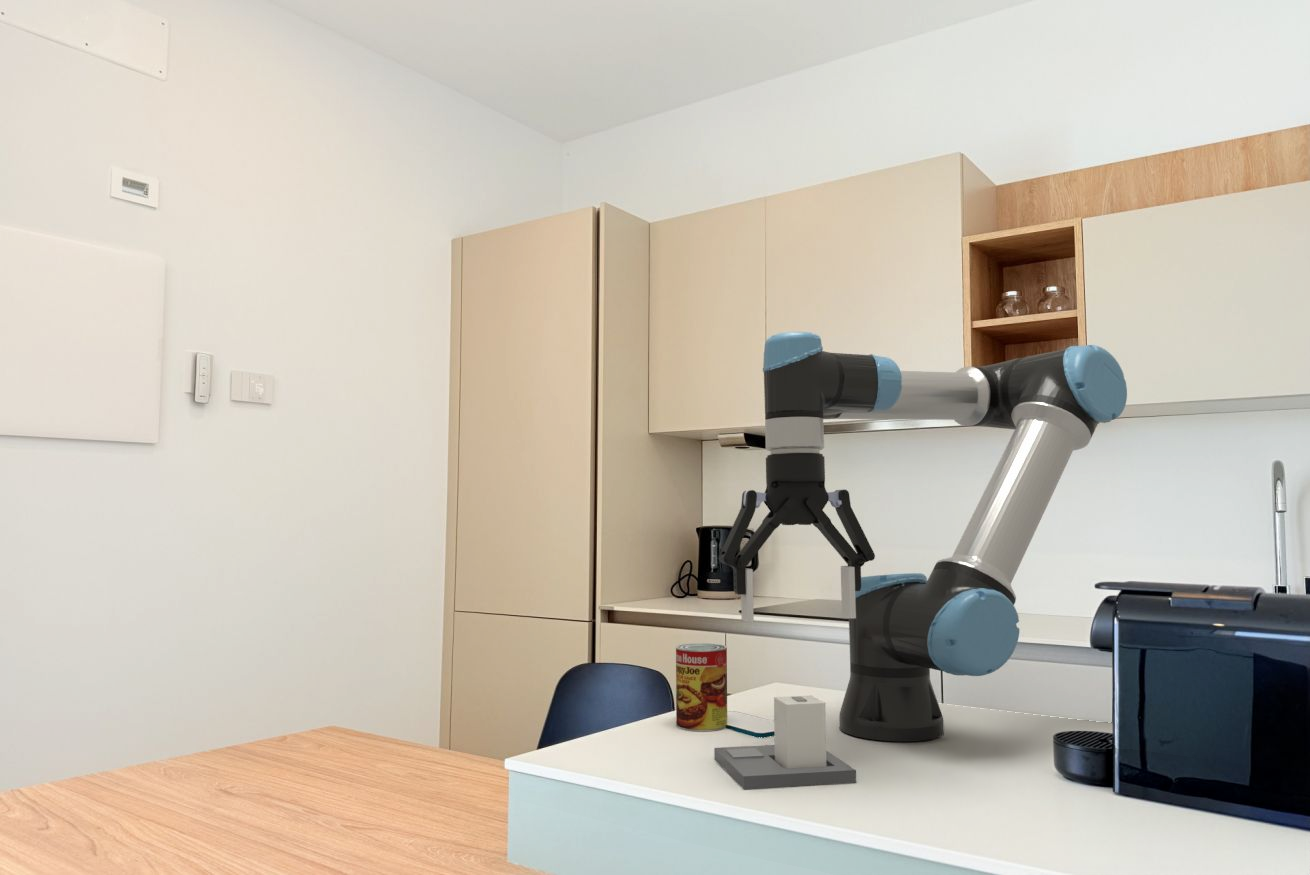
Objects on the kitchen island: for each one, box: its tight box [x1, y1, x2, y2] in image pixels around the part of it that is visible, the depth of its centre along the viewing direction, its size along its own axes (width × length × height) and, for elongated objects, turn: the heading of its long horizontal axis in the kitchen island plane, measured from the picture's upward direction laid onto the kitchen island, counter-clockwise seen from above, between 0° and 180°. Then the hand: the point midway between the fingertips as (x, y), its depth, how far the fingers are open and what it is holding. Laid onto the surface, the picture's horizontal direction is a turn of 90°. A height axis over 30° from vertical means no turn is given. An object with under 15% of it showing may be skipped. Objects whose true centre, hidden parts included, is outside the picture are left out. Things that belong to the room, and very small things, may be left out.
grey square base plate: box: [713, 744, 857, 790], centre depth 118 cm, size 14×14×2 cm
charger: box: [773, 695, 827, 769], centre depth 118 cm, size 5×5×9 cm
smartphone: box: [725, 710, 775, 739], centre depth 145 cm, size 8×1×16 cm
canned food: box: [675, 642, 728, 732], centre depth 145 cm, size 8×8×12 cm
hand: (798, 619), depth 120 cm, fingers open, 13 cm apart
